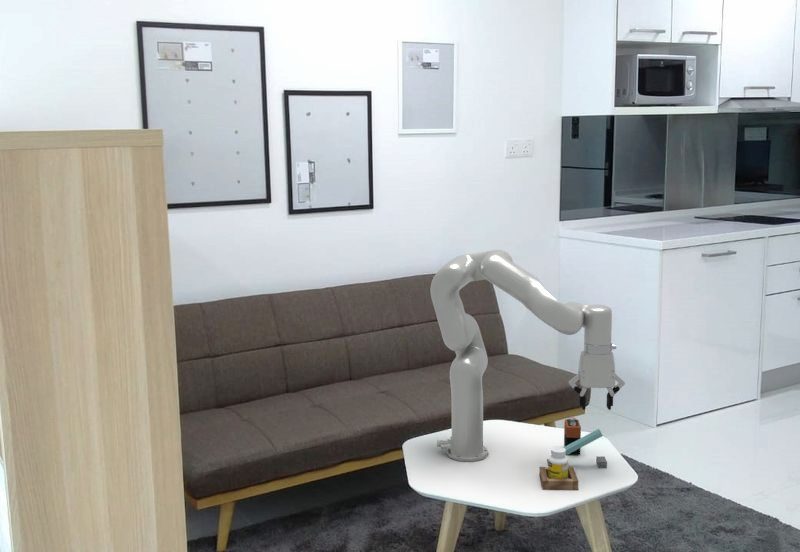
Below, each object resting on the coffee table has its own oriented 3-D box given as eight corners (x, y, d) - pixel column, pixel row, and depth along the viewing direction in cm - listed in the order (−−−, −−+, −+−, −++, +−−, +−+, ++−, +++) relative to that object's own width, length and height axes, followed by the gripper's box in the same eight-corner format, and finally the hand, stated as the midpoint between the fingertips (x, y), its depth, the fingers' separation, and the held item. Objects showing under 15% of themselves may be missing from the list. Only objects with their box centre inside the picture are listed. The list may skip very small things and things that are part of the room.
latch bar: (556, 461, 247) (553, 456, 247) (555, 457, 250) (552, 452, 250) (603, 436, 245) (600, 431, 245) (601, 433, 248) (598, 428, 248)
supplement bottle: (544, 481, 238) (544, 448, 236) (557, 476, 241) (557, 444, 239) (558, 488, 233) (559, 454, 232) (571, 482, 237) (572, 449, 235)
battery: (578, 447, 262) (578, 416, 261) (580, 455, 256) (581, 424, 254) (563, 446, 263) (564, 416, 261) (565, 455, 256) (566, 423, 254)
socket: (542, 489, 233) (543, 480, 232) (539, 475, 242) (539, 466, 242) (578, 489, 232) (578, 481, 232) (573, 475, 242) (573, 467, 241)
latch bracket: (549, 469, 246) (549, 456, 245) (546, 460, 252) (547, 448, 252) (607, 470, 245) (607, 456, 244) (603, 461, 251) (604, 448, 250)
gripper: (625, 344, 245) (623, 404, 248) (565, 345, 246) (564, 404, 249) (631, 351, 238) (629, 412, 241) (568, 352, 239) (567, 412, 242)
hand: (596, 407), depth 245 cm, fingers open, 6 cm apart
